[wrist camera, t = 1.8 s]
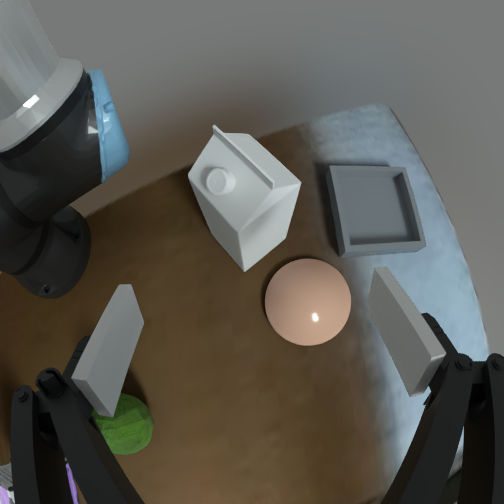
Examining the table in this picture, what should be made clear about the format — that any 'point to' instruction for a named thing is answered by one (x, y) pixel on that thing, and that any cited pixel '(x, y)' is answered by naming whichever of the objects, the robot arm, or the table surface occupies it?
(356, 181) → the square tray
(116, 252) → the table surface
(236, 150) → the milk carton
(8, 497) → the candy box
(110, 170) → the robot arm
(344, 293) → the peach flat disc
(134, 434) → the avocado
